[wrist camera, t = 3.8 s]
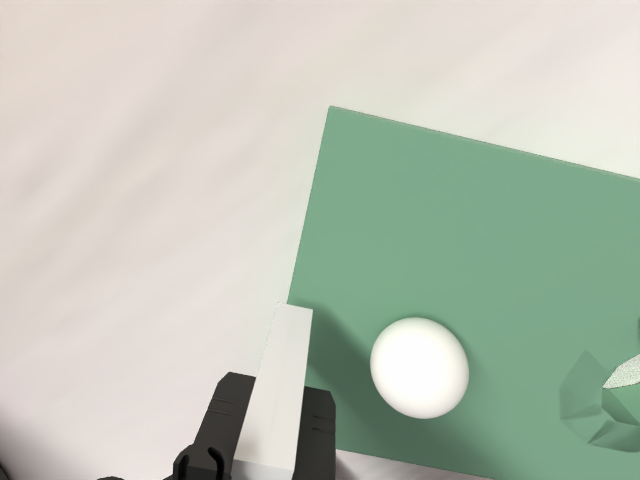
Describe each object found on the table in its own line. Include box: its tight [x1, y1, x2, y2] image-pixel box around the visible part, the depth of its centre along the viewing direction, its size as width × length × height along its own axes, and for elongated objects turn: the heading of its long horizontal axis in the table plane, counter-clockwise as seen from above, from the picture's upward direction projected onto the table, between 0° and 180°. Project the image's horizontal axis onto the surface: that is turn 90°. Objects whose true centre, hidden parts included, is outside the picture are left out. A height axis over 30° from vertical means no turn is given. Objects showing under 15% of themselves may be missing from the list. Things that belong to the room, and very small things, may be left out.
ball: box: [370, 317, 469, 419], centre depth 14 cm, size 4×4×4 cm
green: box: [287, 106, 640, 480], centre depth 18 cm, size 26×18×2 cm
